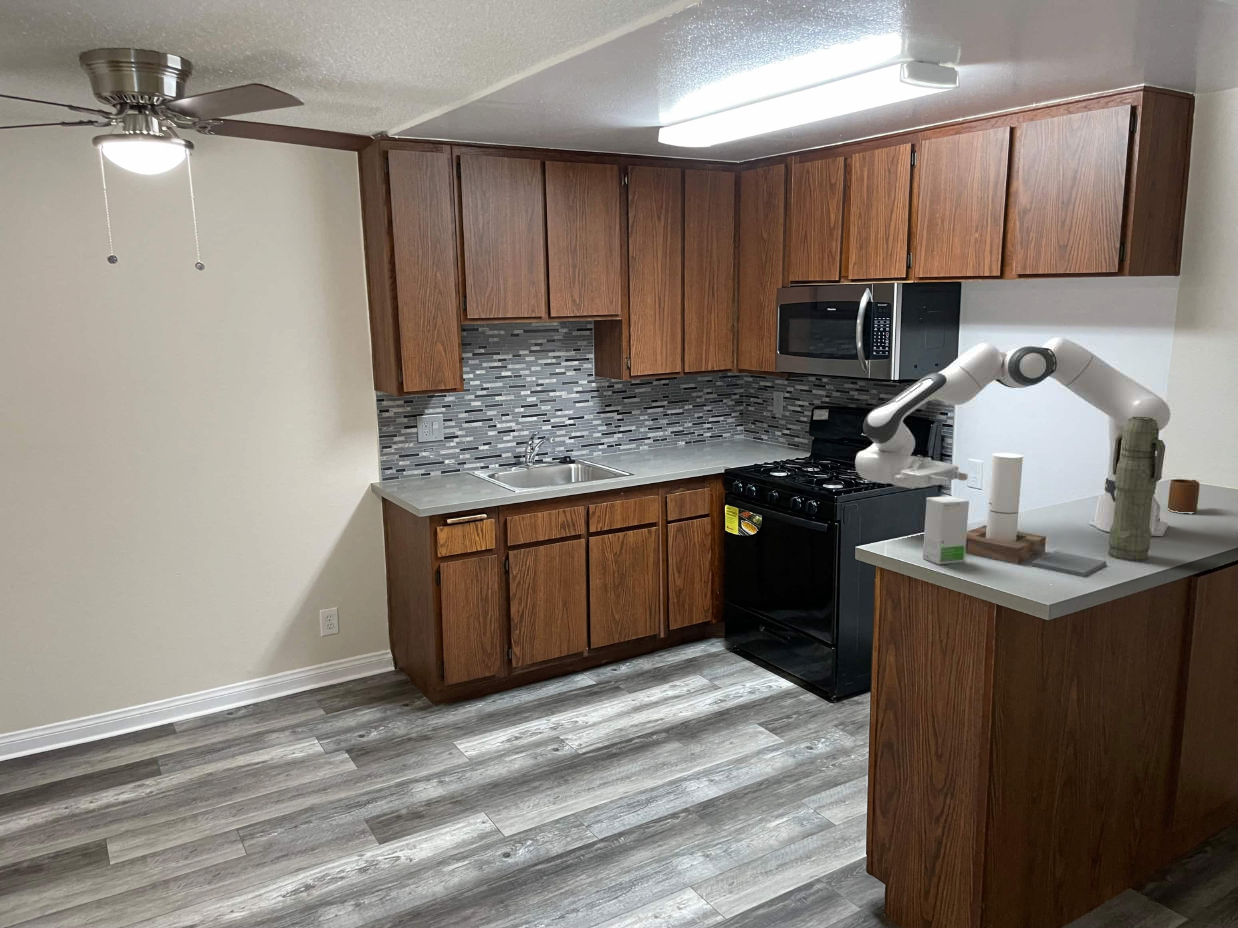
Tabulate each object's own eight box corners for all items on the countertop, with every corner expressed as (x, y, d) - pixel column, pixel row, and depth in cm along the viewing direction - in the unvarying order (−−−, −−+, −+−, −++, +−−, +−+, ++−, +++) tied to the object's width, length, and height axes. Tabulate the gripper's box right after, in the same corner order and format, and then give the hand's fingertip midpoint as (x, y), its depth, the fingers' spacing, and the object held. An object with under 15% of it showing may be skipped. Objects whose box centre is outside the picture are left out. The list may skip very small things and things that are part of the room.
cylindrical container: (1007, 547, 235) (1014, 452, 230) (1020, 555, 228) (1028, 457, 223) (980, 547, 235) (987, 452, 230) (992, 555, 228) (1000, 457, 223)
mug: (1180, 505, 282) (1183, 476, 281) (1207, 510, 276) (1210, 480, 275) (1162, 511, 275) (1166, 480, 274) (1190, 515, 269) (1193, 484, 268)
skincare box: (938, 565, 219) (942, 502, 216) (920, 558, 225) (924, 497, 222) (966, 562, 222) (970, 500, 219) (948, 555, 228) (952, 494, 225)
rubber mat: (1055, 554, 228) (1055, 551, 228) (1106, 564, 219) (1106, 560, 219) (1031, 565, 219) (1031, 561, 218) (1083, 576, 210) (1084, 572, 210)
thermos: (1143, 564, 219) (1158, 422, 213) (1095, 553, 229) (1108, 416, 223) (1161, 559, 224) (1177, 419, 218) (1113, 548, 234) (1127, 414, 228)
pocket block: (984, 539, 242) (985, 525, 242) (1044, 551, 231) (1046, 536, 230) (955, 550, 232) (956, 535, 231) (1017, 564, 220) (1018, 548, 219)
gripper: (890, 464, 240) (939, 472, 230) (929, 456, 253) (976, 463, 243) (888, 488, 241) (937, 496, 231) (927, 478, 254) (974, 486, 244)
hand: (957, 479), depth 237 cm, fingers open, 8 cm apart
